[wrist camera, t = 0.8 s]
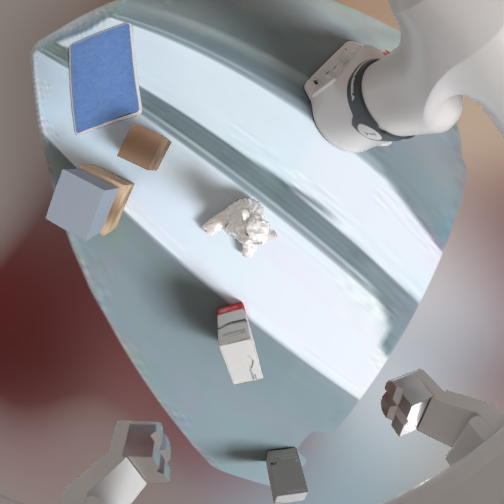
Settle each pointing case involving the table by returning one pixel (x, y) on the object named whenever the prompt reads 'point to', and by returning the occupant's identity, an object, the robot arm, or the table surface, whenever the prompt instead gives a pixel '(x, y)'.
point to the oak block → (119, 200)
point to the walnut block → (144, 147)
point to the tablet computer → (104, 79)
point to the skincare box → (286, 476)
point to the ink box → (237, 344)
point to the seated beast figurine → (242, 224)
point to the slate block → (81, 203)
